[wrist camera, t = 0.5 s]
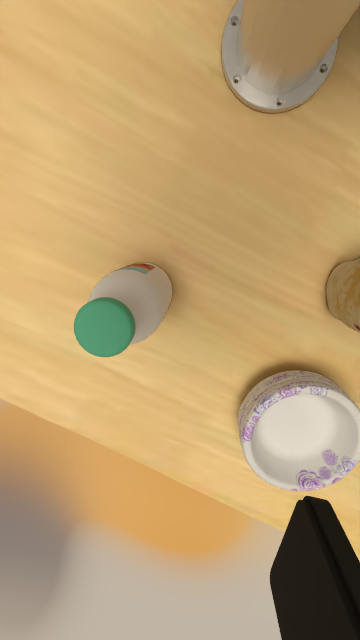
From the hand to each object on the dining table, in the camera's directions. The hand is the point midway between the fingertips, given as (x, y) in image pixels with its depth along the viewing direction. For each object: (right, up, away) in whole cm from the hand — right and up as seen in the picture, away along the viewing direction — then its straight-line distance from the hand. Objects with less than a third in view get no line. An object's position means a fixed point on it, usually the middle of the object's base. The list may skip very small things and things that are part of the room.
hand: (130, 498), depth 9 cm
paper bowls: (+17, -8, +38) cm, 42 cm away
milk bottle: (-3, +9, +34) cm, 36 cm away
